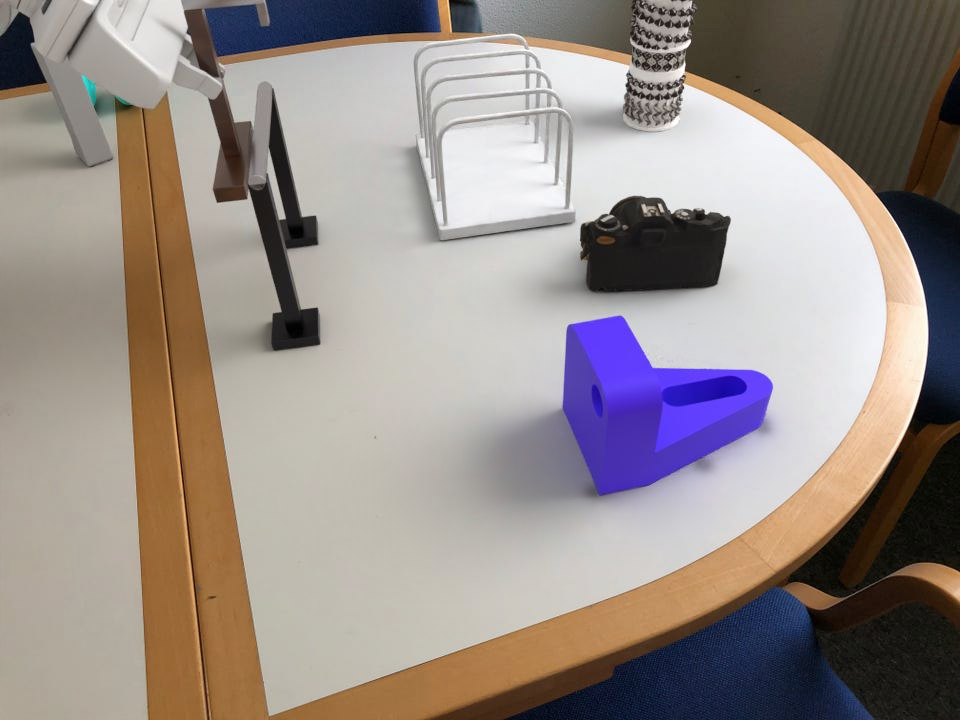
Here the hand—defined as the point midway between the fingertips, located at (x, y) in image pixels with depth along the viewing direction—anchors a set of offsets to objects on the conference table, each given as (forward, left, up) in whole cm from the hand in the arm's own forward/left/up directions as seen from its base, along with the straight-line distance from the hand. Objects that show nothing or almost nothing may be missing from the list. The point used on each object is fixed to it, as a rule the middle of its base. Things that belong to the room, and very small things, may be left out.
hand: (220, 84), depth 77 cm
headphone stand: (+2, 0, -9) cm, 9 cm away
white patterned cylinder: (+56, +30, -24) cm, 68 cm away
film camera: (+43, -6, -24) cm, 50 cm away
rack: (+3, 0, -24) cm, 24 cm away
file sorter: (+29, +17, -24) cm, 41 cm away
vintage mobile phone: (-27, +37, -24) cm, 52 cm away
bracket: (+38, -31, -24) cm, 55 cm away
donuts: (-28, +55, -24) cm, 67 cm away
